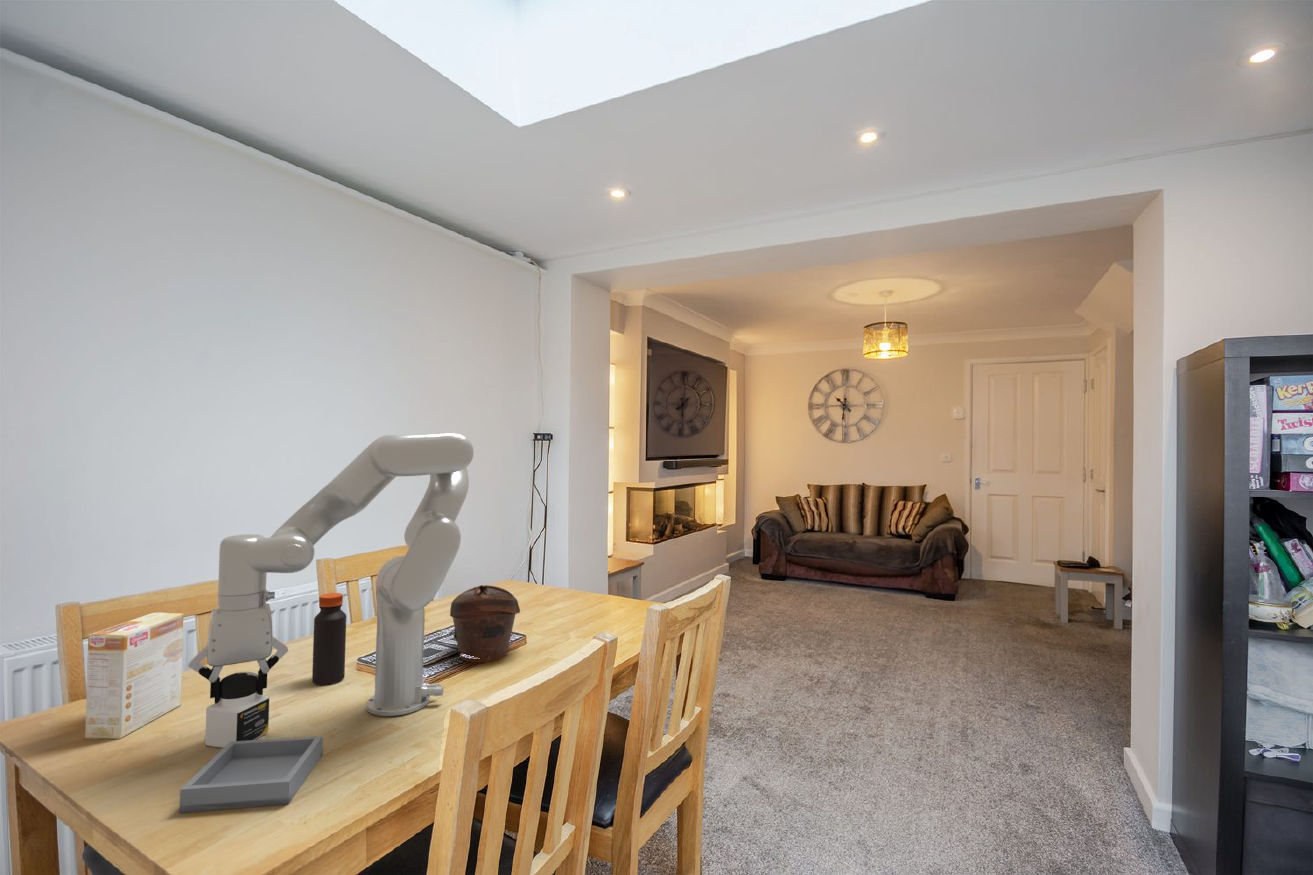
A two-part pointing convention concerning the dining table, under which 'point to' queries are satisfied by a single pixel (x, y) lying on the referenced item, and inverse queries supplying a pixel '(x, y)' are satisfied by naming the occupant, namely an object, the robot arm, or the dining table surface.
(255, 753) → the grey tray
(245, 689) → the medicine bottle
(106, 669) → the coffeecake box
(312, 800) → the dining table surface
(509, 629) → the brown lidded pot
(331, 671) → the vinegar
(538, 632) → the dining table surface
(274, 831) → the dining table surface
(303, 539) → the robot arm
